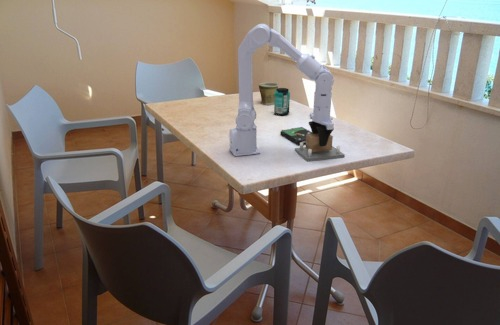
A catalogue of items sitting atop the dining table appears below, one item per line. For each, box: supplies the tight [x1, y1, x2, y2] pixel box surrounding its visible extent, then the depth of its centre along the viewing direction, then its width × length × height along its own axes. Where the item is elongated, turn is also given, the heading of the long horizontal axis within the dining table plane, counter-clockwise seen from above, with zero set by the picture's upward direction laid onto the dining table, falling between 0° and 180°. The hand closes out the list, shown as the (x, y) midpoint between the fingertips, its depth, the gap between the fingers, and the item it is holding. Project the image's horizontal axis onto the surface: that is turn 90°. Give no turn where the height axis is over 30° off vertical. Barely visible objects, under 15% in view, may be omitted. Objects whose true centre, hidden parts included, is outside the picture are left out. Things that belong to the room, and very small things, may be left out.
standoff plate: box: [294, 142, 346, 162], centre depth 146 cm, size 14×11×4 cm
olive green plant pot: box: [258, 82, 279, 106], centre depth 215 cm, size 13×10×10 cm
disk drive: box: [280, 126, 312, 147], centre depth 162 cm, size 10×3×15 cm
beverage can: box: [273, 87, 291, 117], centre depth 194 cm, size 7×7×12 cm
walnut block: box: [305, 133, 334, 152], centre depth 145 cm, size 8×4×5 cm, turn 106°
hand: (319, 143), depth 145 cm, fingers closed on walnut block, 4 cm apart
